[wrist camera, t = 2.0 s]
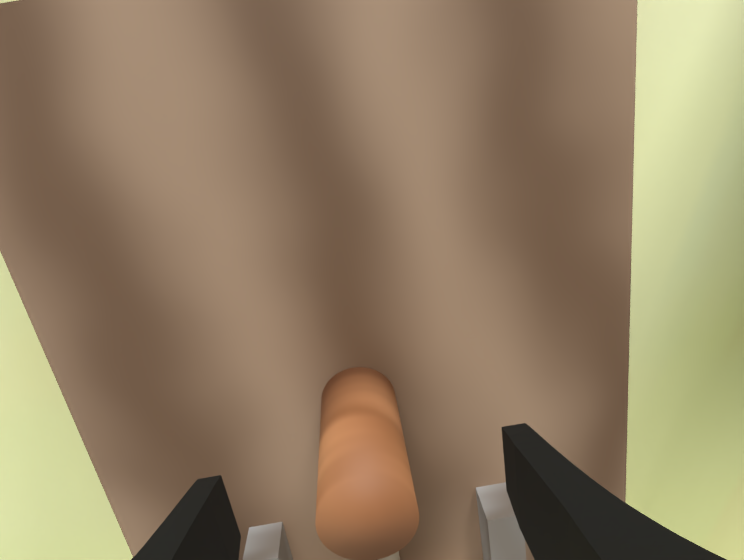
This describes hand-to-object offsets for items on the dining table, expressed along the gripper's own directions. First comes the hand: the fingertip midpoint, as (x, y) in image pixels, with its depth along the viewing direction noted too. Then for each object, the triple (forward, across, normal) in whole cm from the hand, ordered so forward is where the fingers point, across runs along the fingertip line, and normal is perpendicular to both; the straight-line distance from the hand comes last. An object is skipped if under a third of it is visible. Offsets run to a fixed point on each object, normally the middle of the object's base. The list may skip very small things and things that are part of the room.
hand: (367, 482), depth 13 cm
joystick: (+4, 0, +6) cm, 7 cm away
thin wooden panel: (+5, 0, +6) cm, 7 cm away
